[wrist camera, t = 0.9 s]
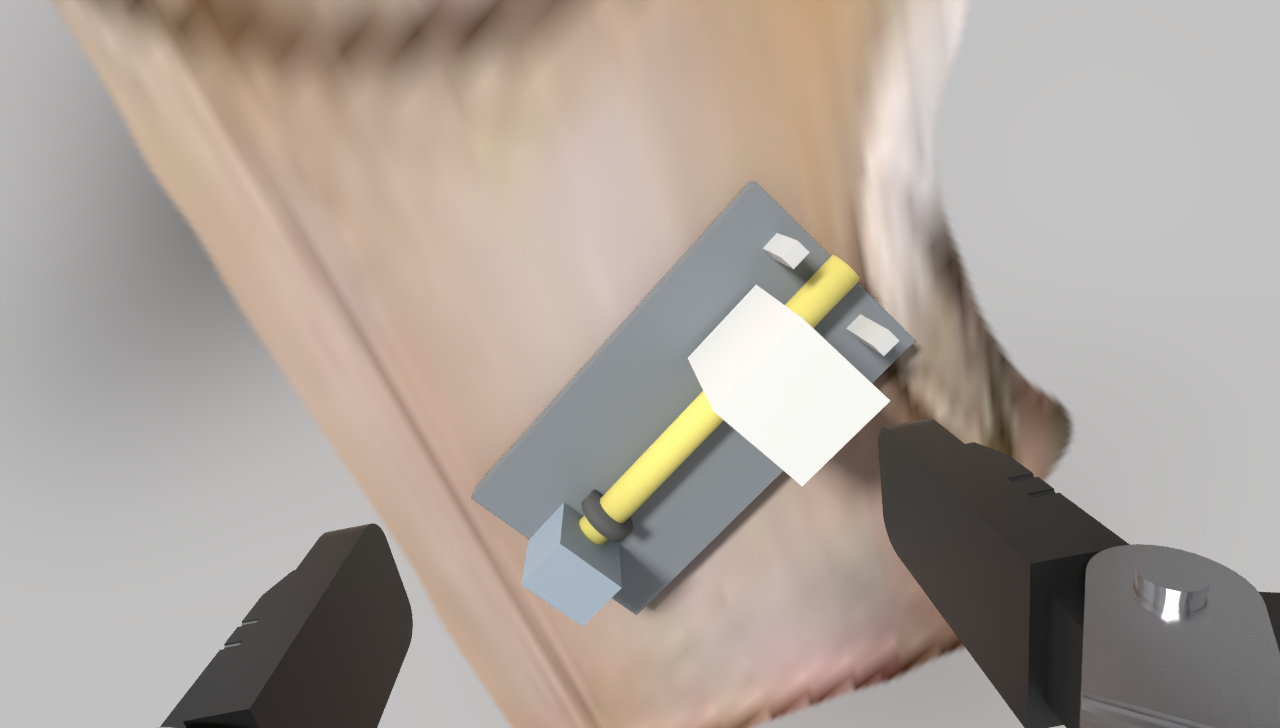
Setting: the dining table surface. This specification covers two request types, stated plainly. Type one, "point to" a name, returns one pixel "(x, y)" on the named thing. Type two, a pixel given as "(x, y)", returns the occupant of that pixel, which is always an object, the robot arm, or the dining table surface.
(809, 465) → the sleeve
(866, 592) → the dining table surface
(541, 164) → the dining table surface
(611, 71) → the dining table surface
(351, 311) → the dining table surface
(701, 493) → the linear slide rail
